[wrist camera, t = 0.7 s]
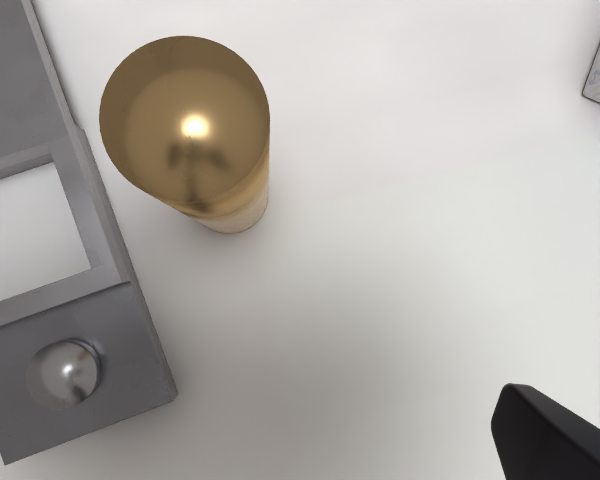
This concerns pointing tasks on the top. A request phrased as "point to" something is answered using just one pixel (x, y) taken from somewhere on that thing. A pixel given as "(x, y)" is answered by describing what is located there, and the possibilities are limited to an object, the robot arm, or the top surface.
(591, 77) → the light bulb box
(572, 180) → the top surface
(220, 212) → the bronze cylinder
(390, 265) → the top surface
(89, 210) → the grey frame with knob
